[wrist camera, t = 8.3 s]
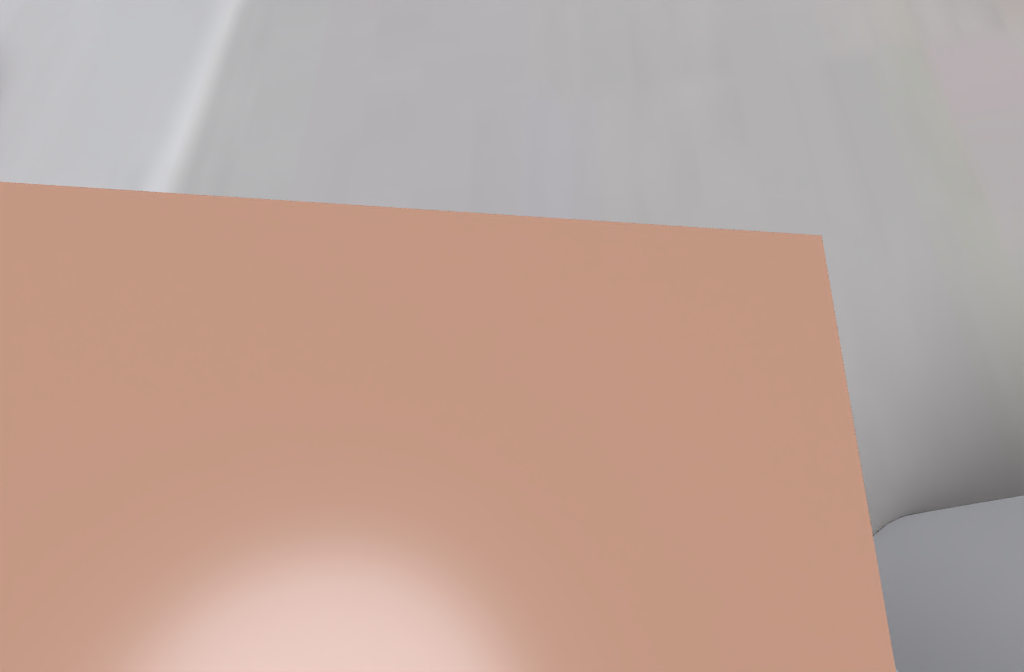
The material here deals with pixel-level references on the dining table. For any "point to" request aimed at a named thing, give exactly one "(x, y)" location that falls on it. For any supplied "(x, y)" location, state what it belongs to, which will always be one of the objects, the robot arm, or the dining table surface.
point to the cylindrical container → (955, 587)
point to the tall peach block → (421, 443)
